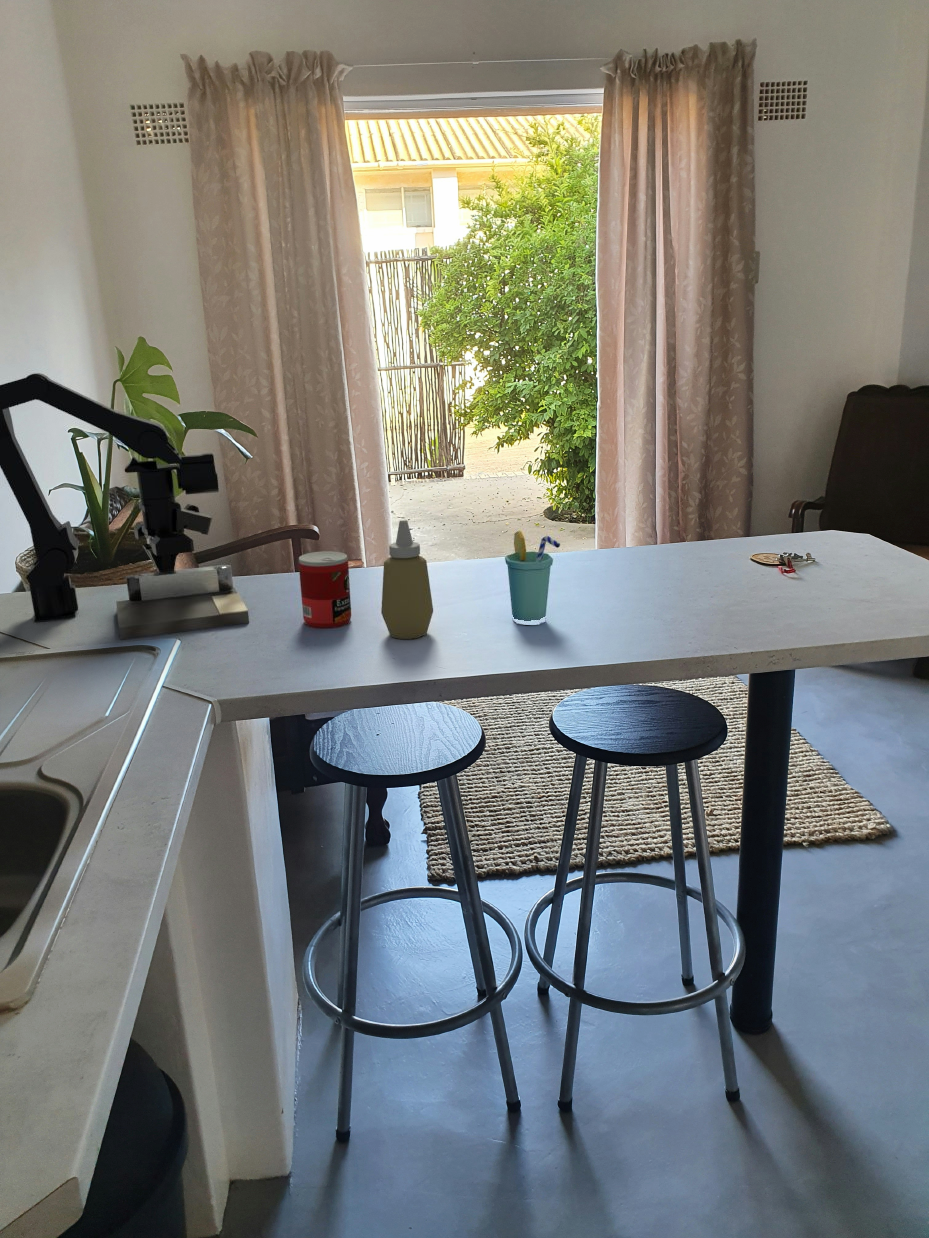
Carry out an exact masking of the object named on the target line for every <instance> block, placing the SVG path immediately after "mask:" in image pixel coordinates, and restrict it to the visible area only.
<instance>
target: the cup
mask: <svg viewBox="0 0 929 1238" xmlns="http://www.w3.org/2000/svg"><path fill="white" fill-rule="evenodd" d="M513 536H514V537H513V547H514V552H513V553H511V554H508V555H505V556H504V561H505V564H506V565H507V572H508V573H507V575H508V576H507V577H508V582H509V584H508V585H509V594H510V603H511V604H510V606H511V607H510V608H511V615H513V617H514V619H518V620H524V621H531V620H540V619H541V618H543V617H545V616H546V615H547V605H548V596H549V586H550V585H549V584H550V577H551V576H550V575H551V566H553V561H554V557H553V558H552V556H551V555H550V554H549V553H545V548H546V545H547V543H548V544H549V545H550V546H551V545H552V546H553V547H555V548H557V549H559V548H560V546H561V543H560V542H558V541H557V540H555V539H553V538H552V537H550V536H549V535H545V536H544V537H542V538H541V540H540V543H539V548H538V552H537V551H527V546H526V540H525V537H524V534H523V532H522V531H521V530H518V531H515V532H514V535H513Z"/></svg>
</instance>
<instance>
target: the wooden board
mask: <svg viewBox="0 0 929 1238" xmlns="http://www.w3.org/2000/svg"><path fill="white" fill-rule="evenodd" d="M115 602H116V614H117V625H118V632H119V640H121V641H122V640H128V639H135V638H143V637H151V636H159V635H166V634H173V633H174V634H175V633H183V632H190V631H197V630H204V629H211V628H212V629H213V628H218V627H219V628H220V627H226V626H227V627H229V626H235V625H243V624H249V623H250V617H249V609H248V608H247V605H245V603H244V601H243V599H242V597H241V595H240V594H239V593H238V591H237V590H236V588H235V587H233V589H232V590H229V591H218V592H209V593H201V594H192V595H184V596H176V597H167V598H159V599H150V600H142V601H129V599H127V600H118V601H115Z"/></svg>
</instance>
